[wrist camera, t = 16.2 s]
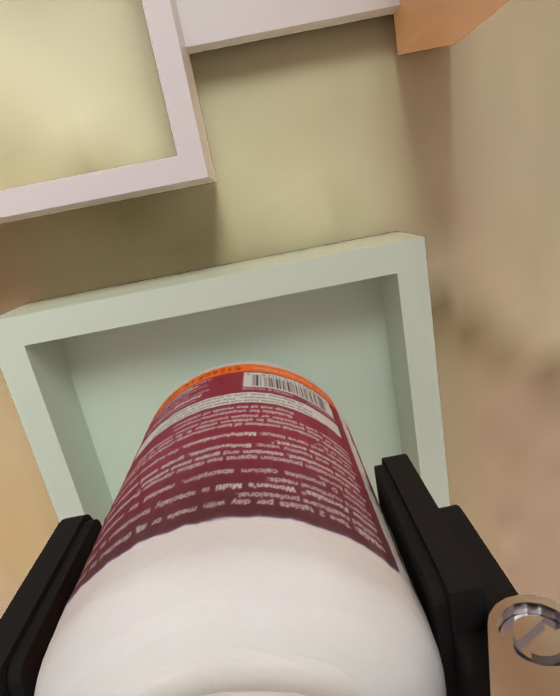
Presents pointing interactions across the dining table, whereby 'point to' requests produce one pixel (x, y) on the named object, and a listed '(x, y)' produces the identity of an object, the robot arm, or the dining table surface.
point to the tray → (229, 358)
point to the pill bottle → (244, 559)
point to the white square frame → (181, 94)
